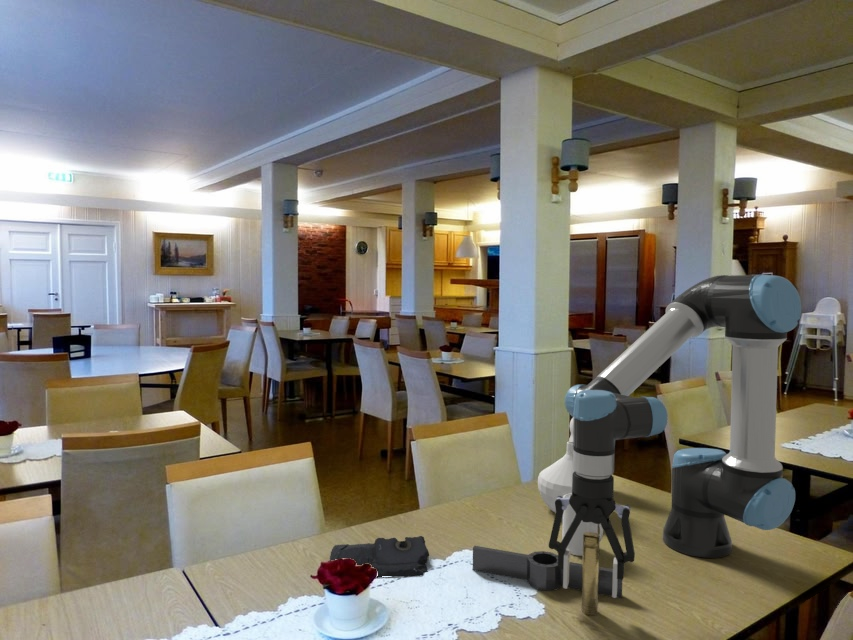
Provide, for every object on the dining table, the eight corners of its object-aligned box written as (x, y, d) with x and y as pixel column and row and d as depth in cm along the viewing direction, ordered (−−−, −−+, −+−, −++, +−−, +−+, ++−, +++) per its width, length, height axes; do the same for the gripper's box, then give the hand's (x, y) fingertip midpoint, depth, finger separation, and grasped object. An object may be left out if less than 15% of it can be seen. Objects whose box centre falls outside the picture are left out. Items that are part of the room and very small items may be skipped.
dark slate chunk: (330, 550, 139) (330, 531, 139) (423, 546, 142) (423, 526, 142) (328, 583, 124) (328, 561, 124) (432, 577, 127) (432, 556, 127)
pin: (598, 609, 114) (600, 533, 113) (596, 617, 112) (598, 539, 111) (582, 605, 116) (584, 530, 115) (580, 613, 113) (582, 536, 112)
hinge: (622, 588, 122) (623, 564, 122) (620, 605, 116) (621, 580, 115) (477, 561, 133) (478, 540, 133) (468, 576, 127) (468, 553, 127)
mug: (614, 559, 135) (615, 508, 134) (582, 565, 132) (583, 512, 132) (584, 538, 146) (585, 490, 145) (554, 543, 143) (555, 494, 143)
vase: (614, 525, 154) (616, 452, 153) (543, 524, 155) (545, 452, 154) (595, 499, 173) (596, 434, 172) (532, 498, 173) (533, 433, 172)
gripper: (652, 473, 112) (649, 590, 113) (540, 461, 119) (538, 570, 121) (652, 486, 105) (648, 611, 106) (533, 472, 112) (531, 588, 114)
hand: (590, 589), depth 113 cm, fingers open, 8 cm apart
